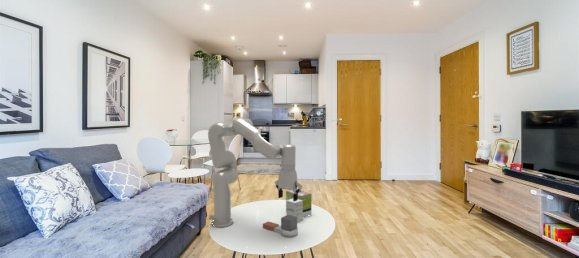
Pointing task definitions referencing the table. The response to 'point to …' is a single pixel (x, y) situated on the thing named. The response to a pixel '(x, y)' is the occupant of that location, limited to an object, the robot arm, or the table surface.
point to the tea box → (301, 196)
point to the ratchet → (278, 229)
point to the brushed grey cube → (289, 223)
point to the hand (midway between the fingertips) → (287, 199)
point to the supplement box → (295, 209)
